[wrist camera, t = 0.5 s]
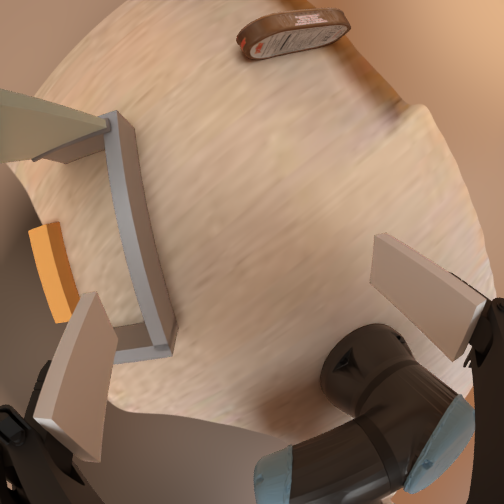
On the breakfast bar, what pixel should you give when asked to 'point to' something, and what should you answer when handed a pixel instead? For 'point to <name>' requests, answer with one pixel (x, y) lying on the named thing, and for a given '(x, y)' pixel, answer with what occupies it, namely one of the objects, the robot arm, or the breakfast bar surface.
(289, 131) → the breakfast bar surface
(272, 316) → the breakfast bar surface
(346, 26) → the tin
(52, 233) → the orange block
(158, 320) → the grey u-shaped bracket
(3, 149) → the cover
